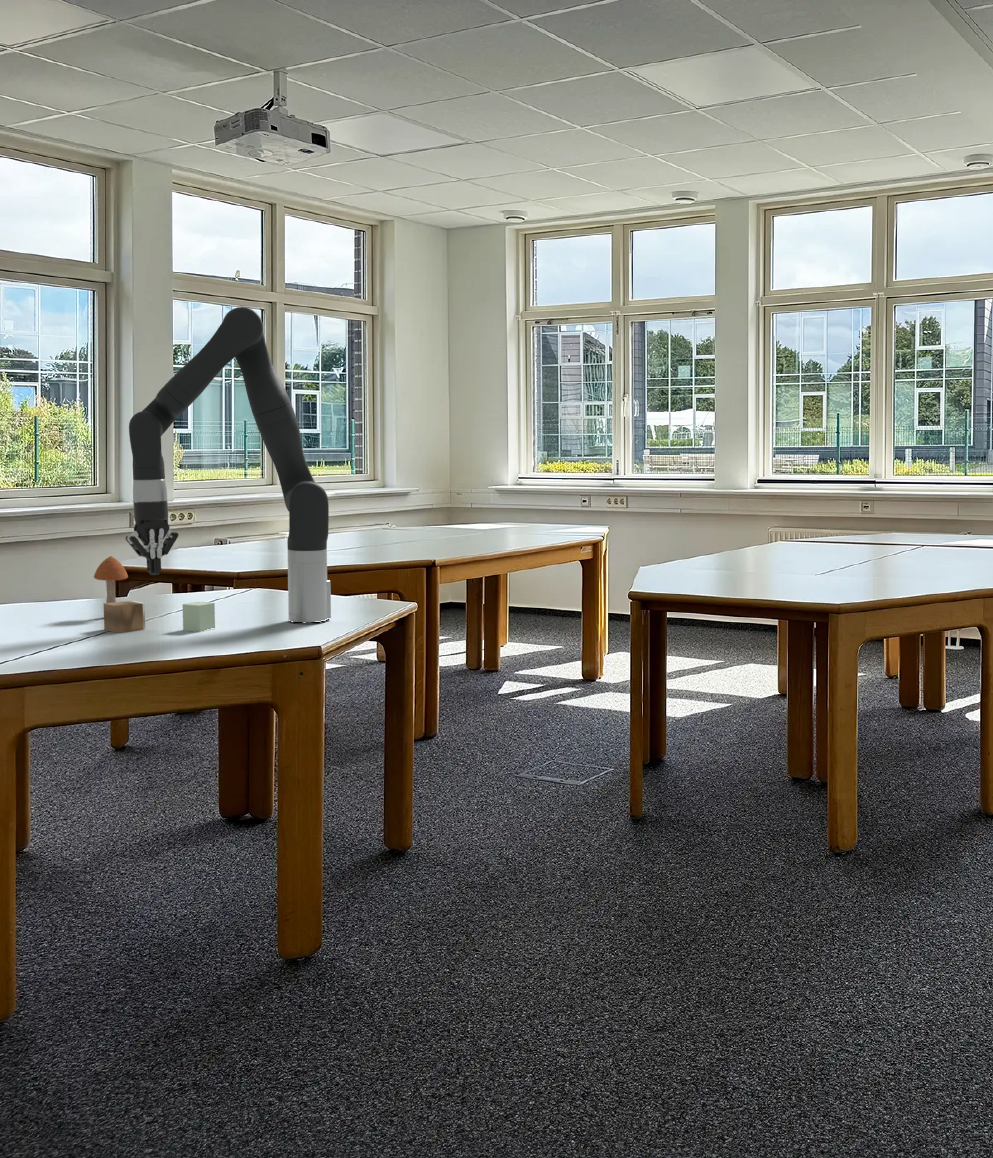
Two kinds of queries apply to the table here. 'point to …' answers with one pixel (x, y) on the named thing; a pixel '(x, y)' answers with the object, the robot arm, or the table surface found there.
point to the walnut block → (124, 616)
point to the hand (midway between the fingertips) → (154, 574)
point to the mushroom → (110, 576)
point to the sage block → (198, 616)
